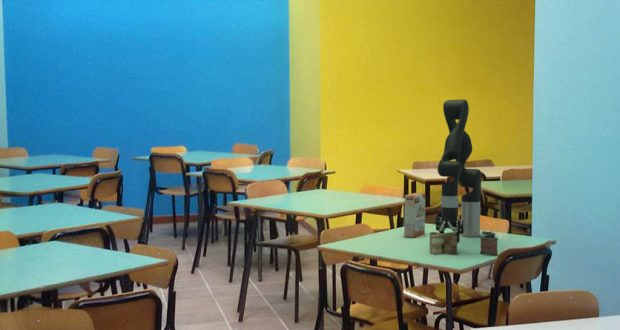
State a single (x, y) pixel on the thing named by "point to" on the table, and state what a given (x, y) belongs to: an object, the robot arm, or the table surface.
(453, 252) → the notched brown block
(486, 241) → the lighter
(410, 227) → the cracker box
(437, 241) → the beech plate
